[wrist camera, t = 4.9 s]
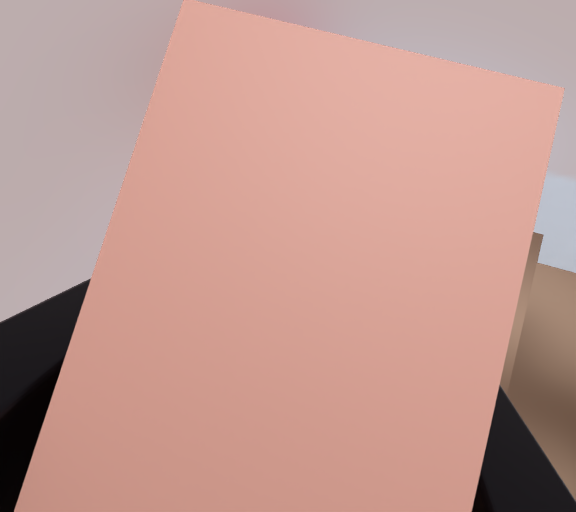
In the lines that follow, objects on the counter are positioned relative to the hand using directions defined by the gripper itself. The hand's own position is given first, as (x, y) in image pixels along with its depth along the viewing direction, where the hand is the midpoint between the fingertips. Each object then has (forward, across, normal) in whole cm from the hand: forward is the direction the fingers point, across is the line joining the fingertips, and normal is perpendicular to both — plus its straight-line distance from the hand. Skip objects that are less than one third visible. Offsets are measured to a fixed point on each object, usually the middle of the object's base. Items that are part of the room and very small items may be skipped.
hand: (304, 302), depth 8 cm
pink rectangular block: (+4, 0, +6) cm, 7 cm away
